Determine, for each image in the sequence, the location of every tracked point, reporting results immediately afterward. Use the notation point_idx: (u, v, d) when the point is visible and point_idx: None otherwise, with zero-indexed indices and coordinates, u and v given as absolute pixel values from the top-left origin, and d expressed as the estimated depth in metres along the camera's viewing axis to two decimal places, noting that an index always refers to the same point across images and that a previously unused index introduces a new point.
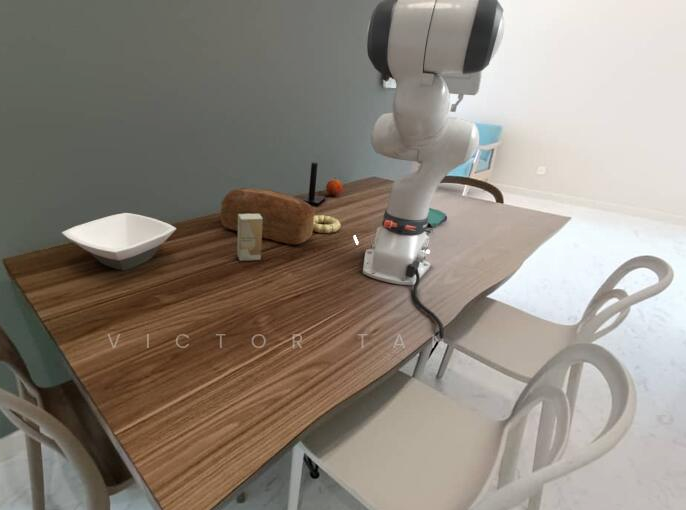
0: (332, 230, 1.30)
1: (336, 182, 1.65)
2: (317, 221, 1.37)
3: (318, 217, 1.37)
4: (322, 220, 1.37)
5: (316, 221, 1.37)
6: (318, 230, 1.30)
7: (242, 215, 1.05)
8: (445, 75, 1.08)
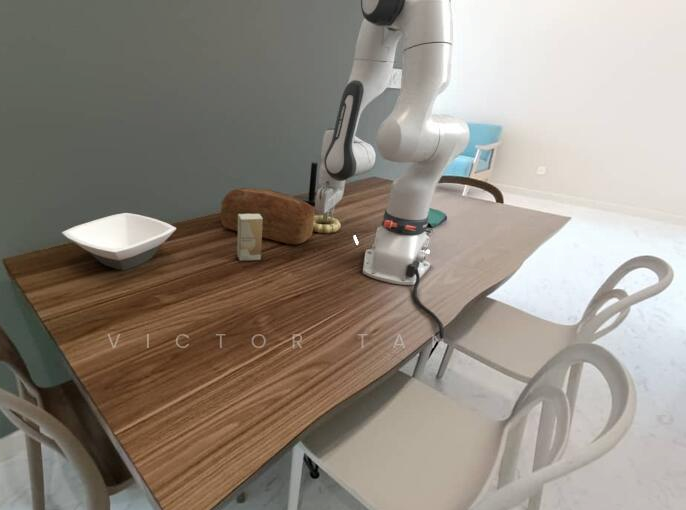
0: (332, 230, 1.30)
1: None
2: (317, 221, 1.37)
3: (318, 217, 1.37)
4: (322, 220, 1.37)
5: (316, 221, 1.37)
6: (318, 230, 1.30)
7: (242, 215, 1.05)
8: (334, 194, 1.33)
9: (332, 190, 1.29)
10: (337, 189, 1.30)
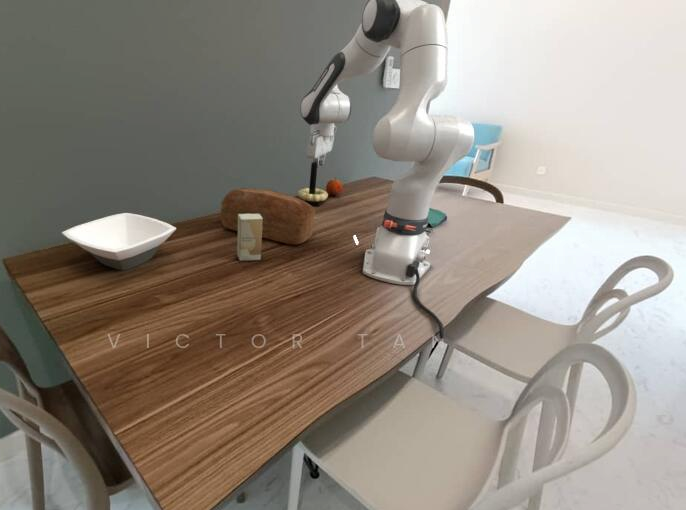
0: (321, 199, 1.55)
1: (336, 182, 1.65)
2: (308, 192, 1.62)
3: None
4: None
5: (307, 192, 1.62)
6: (309, 199, 1.55)
7: (242, 215, 1.05)
8: (325, 143, 1.53)
9: (322, 138, 1.48)
10: (327, 138, 1.50)
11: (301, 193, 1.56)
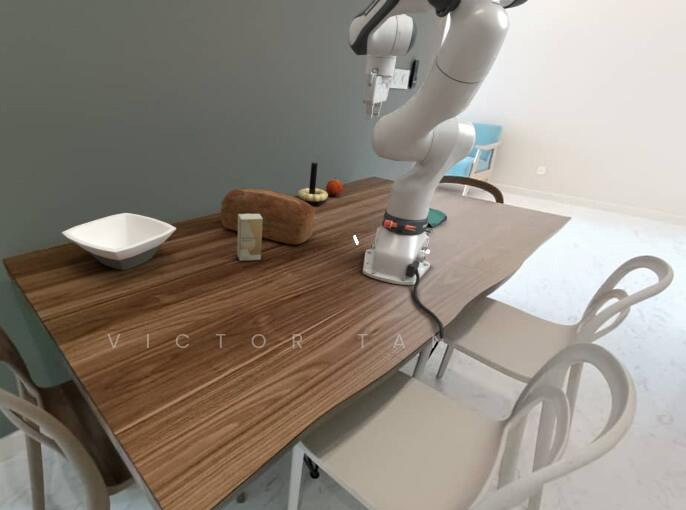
0: (321, 199, 1.55)
1: (336, 182, 1.65)
2: (308, 192, 1.62)
3: None
4: None
5: (307, 192, 1.62)
6: (309, 199, 1.55)
7: (242, 215, 1.05)
8: (382, 87, 1.23)
9: (381, 79, 1.19)
10: (386, 79, 1.20)
11: (301, 193, 1.56)
